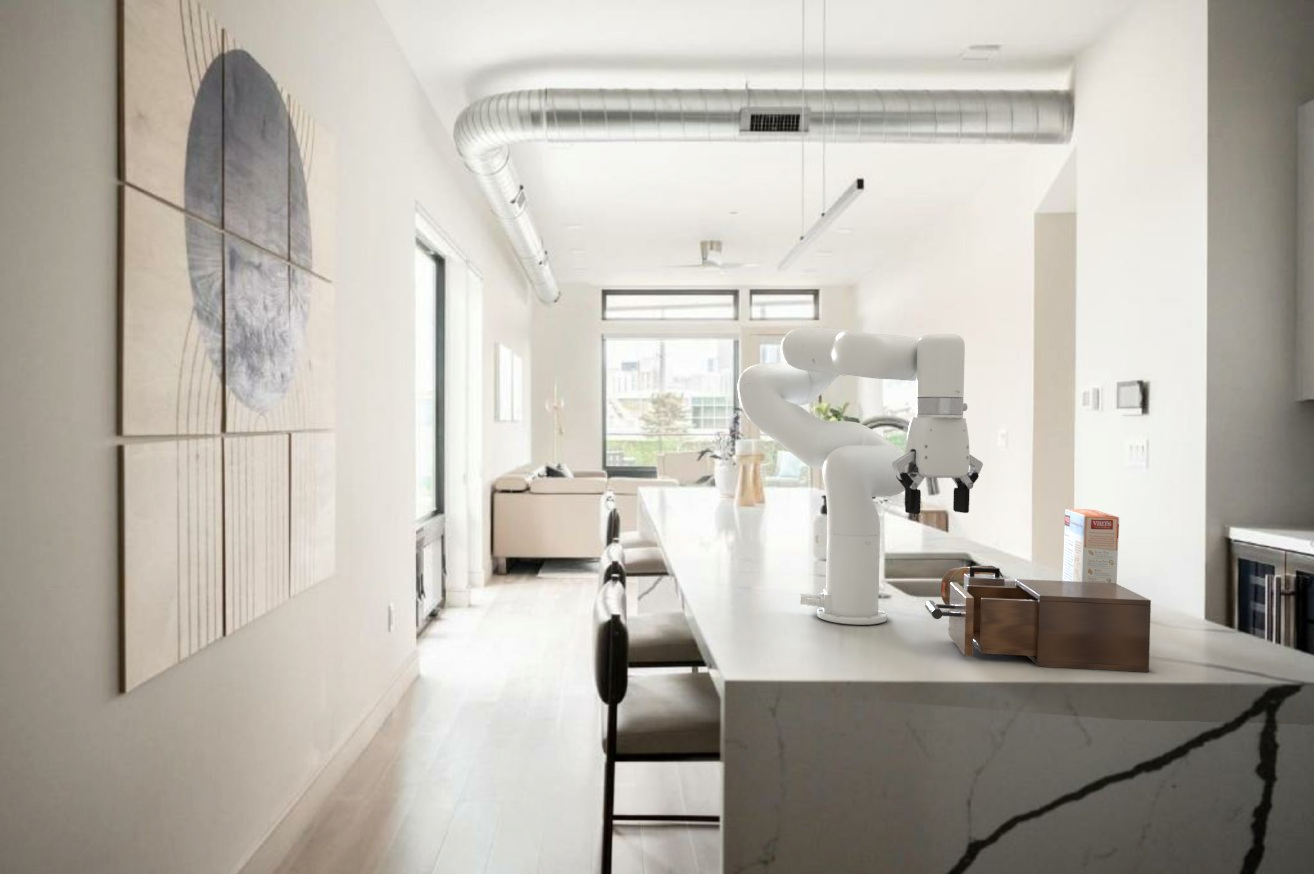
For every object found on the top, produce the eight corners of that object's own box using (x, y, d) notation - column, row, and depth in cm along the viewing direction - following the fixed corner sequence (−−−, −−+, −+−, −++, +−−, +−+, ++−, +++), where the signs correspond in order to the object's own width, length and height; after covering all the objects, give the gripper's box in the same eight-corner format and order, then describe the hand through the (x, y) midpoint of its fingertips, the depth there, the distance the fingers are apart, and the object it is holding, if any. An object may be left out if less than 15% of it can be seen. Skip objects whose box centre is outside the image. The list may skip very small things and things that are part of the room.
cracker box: (1117, 639, 155) (1121, 516, 155) (1079, 637, 156) (1082, 514, 156) (1095, 622, 169) (1098, 508, 168) (1060, 620, 170) (1063, 507, 170)
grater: (967, 632, 159) (968, 568, 158) (962, 627, 163) (964, 565, 162) (1003, 633, 158) (1004, 570, 158) (997, 628, 162) (999, 566, 162)
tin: (949, 613, 174) (950, 569, 174) (937, 610, 177) (938, 567, 177) (1005, 607, 181) (1006, 565, 181) (993, 604, 184) (994, 562, 183)
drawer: (934, 653, 139) (935, 596, 139) (921, 633, 153) (922, 581, 152) (1065, 660, 137) (1066, 601, 137) (1040, 639, 150) (1041, 586, 150)
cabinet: (1037, 666, 137) (1039, 595, 136) (1013, 643, 151) (1015, 579, 151) (1149, 672, 135) (1151, 600, 134) (1113, 648, 149) (1115, 583, 149)
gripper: (966, 410, 158) (964, 509, 159) (881, 408, 152) (879, 511, 152) (997, 410, 151) (994, 514, 152) (909, 408, 145) (907, 516, 145)
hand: (937, 512), depth 152 cm, fingers open, 9 cm apart
